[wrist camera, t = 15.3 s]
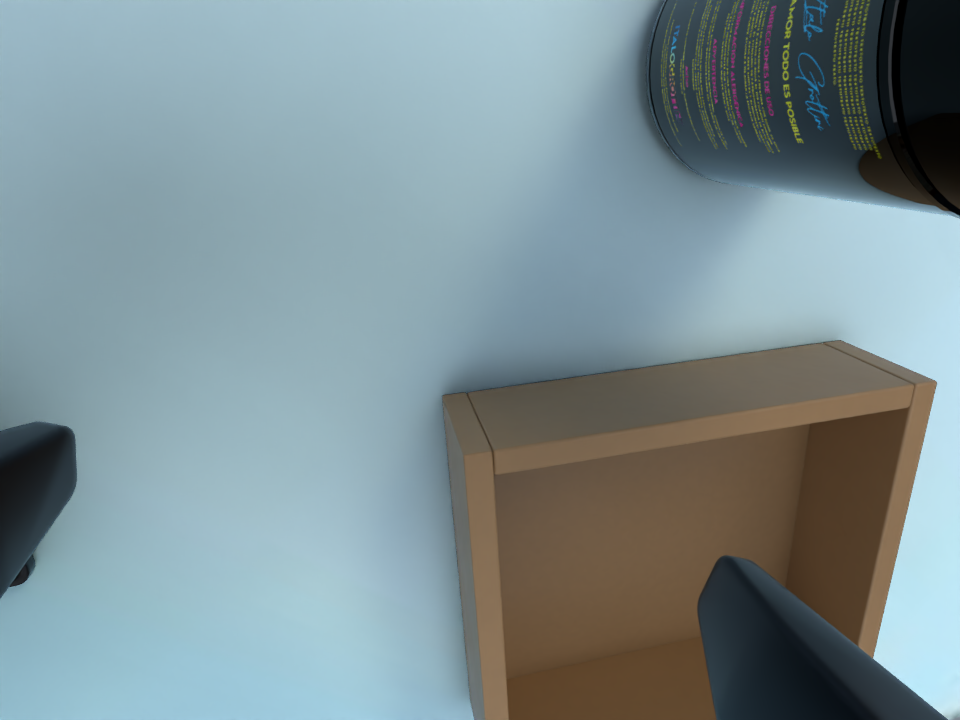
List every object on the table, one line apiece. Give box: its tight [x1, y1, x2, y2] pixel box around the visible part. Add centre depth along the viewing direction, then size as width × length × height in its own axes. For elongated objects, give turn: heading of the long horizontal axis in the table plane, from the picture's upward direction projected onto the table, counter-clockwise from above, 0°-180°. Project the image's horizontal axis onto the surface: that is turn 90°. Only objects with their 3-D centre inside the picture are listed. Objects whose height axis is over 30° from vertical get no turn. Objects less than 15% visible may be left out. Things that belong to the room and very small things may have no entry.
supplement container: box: [646, 0, 960, 218], centre depth 13 cm, size 7×7×10 cm
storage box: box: [442, 340, 937, 720], centre depth 21 cm, size 15×14×4 cm
